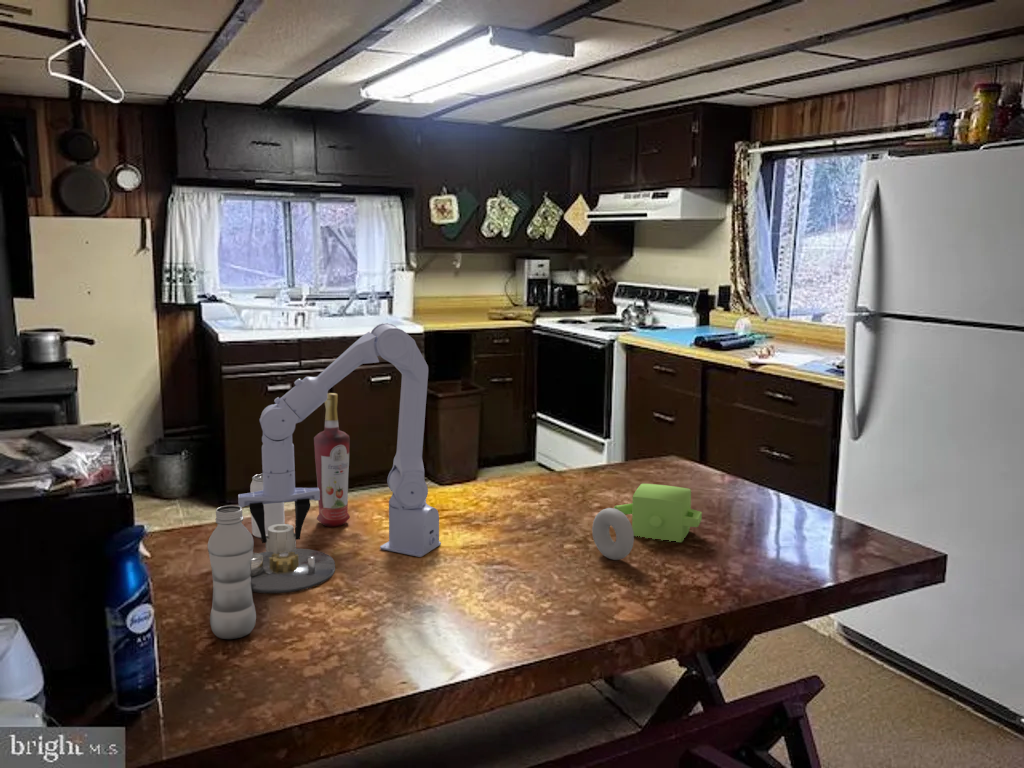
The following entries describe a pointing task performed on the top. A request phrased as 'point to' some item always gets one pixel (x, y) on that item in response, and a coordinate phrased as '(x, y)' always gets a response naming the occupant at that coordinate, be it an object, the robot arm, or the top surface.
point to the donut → (622, 531)
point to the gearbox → (661, 512)
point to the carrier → (290, 570)
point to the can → (266, 509)
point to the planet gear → (280, 538)
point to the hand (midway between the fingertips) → (280, 539)
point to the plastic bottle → (231, 575)
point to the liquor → (332, 468)
